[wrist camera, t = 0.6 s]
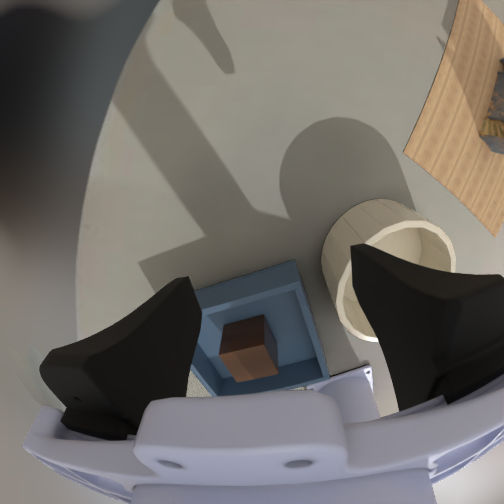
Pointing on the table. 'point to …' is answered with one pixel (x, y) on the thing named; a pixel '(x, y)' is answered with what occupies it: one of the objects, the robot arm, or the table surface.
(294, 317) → the tub
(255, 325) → the walnut block
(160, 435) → the robot arm
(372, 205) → the cup
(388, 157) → the table surface
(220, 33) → the table surface
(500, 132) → the architectural model on board
